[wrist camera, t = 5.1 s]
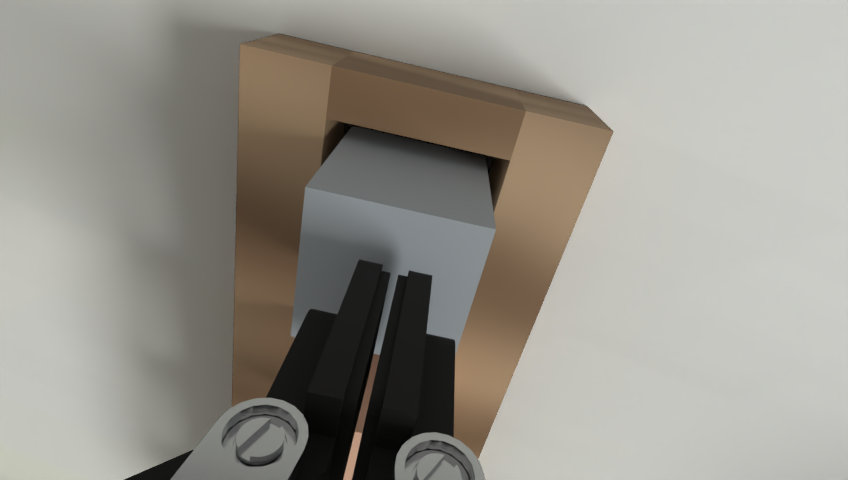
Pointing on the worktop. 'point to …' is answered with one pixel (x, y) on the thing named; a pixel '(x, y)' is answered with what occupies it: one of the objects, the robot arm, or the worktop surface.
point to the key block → (424, 120)
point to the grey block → (395, 226)
